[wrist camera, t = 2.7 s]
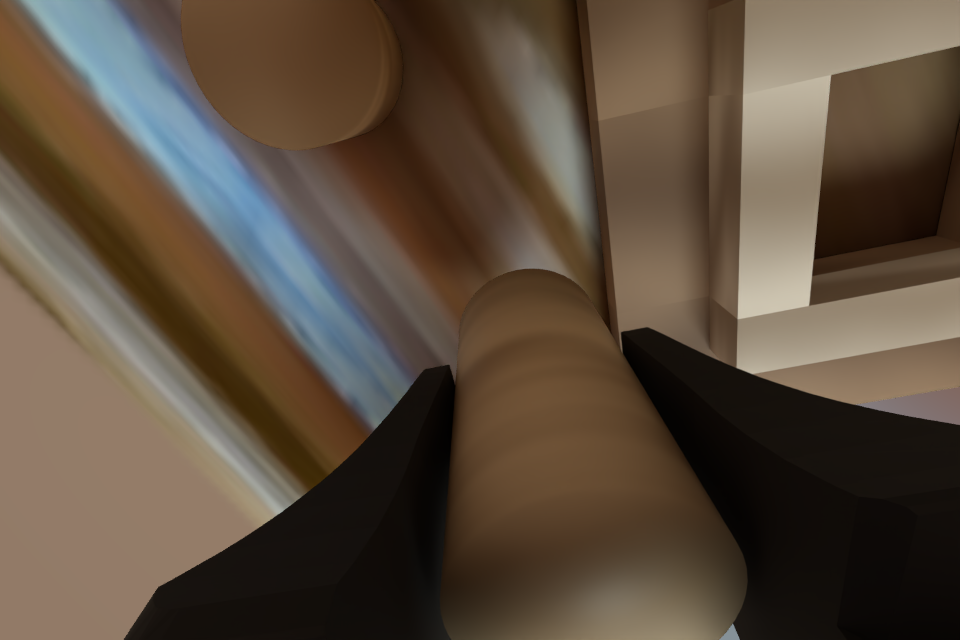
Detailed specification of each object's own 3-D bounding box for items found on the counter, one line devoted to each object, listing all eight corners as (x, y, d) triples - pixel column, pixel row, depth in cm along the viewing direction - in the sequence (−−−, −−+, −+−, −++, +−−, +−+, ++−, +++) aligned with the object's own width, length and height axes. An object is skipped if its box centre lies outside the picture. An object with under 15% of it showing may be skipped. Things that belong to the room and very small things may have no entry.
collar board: (1047, 348, 17) (1153, 393, 15) (620, 423, 19) (645, 477, 16) (1273, -305, 10) (1555, -449, 8) (564, -114, 12) (591, -180, 9)
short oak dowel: (419, 121, 14) (399, 128, 10) (293, 151, 14) (231, 167, 11) (379, -39, 12) (339, -97, 9) (238, -2, 13) (143, -43, 9)
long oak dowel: (604, 380, 14) (743, 672, 7) (475, 404, 14) (476, 707, 7) (589, 255, 12) (752, 461, 5) (444, 285, 13) (403, 519, 5)
